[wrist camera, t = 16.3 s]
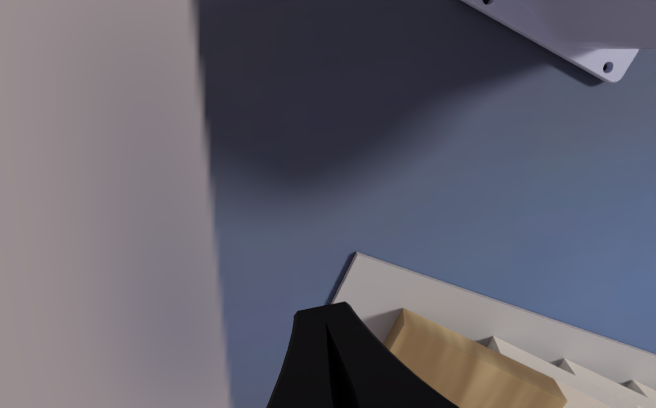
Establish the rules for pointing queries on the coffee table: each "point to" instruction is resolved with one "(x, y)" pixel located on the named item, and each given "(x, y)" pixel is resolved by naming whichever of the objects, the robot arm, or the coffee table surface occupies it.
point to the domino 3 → (642, 389)
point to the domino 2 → (607, 384)
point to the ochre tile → (468, 368)
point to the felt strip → (484, 320)
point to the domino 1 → (563, 380)
